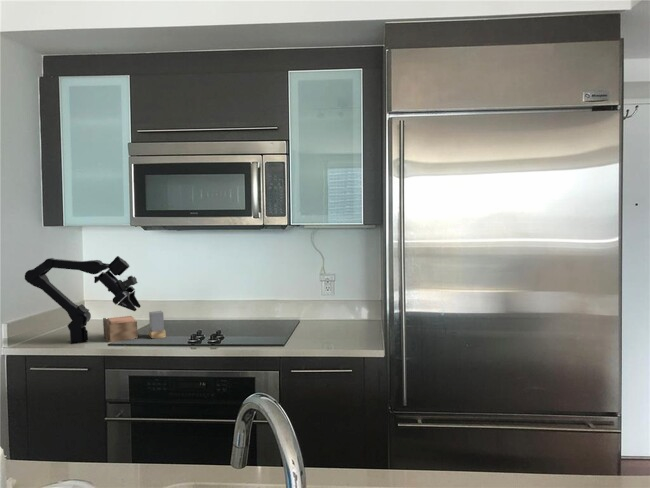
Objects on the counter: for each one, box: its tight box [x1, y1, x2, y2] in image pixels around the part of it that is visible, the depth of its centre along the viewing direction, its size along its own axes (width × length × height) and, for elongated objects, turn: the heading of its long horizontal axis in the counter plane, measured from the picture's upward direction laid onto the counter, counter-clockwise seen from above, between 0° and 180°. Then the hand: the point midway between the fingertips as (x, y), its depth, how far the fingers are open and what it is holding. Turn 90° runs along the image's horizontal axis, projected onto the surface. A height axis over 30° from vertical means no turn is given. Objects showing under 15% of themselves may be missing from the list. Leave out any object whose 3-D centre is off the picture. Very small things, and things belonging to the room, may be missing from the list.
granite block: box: [148, 310, 165, 332], centre depth 253 cm, size 5×5×8 cm
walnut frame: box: [102, 317, 139, 343], centre depth 253 cm, size 12×13×8 cm
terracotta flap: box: [106, 315, 136, 324], centre depth 253 cm, size 10×10×1 cm
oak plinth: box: [148, 329, 167, 339], centre depth 253 cm, size 6×6×3 cm
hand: (137, 308), depth 251 cm, fingers open, 9 cm apart
